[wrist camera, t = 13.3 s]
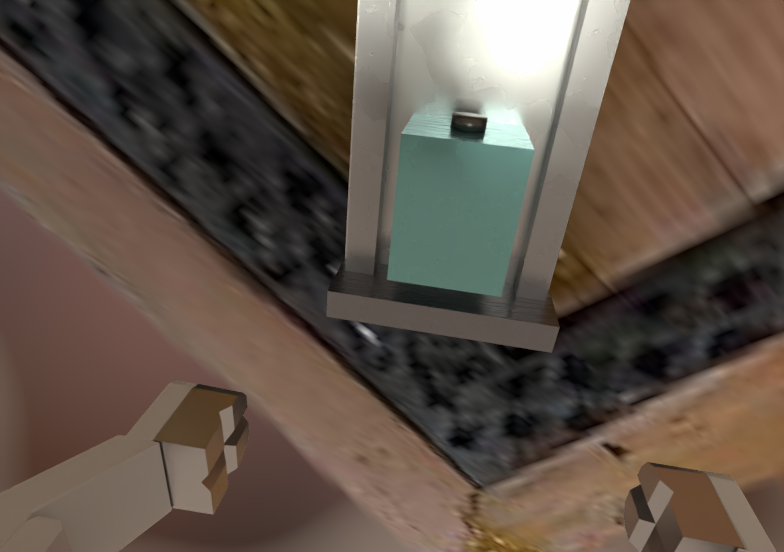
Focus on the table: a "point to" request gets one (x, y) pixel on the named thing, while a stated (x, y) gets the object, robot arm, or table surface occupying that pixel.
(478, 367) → the table surface
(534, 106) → the guide channel
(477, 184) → the block
